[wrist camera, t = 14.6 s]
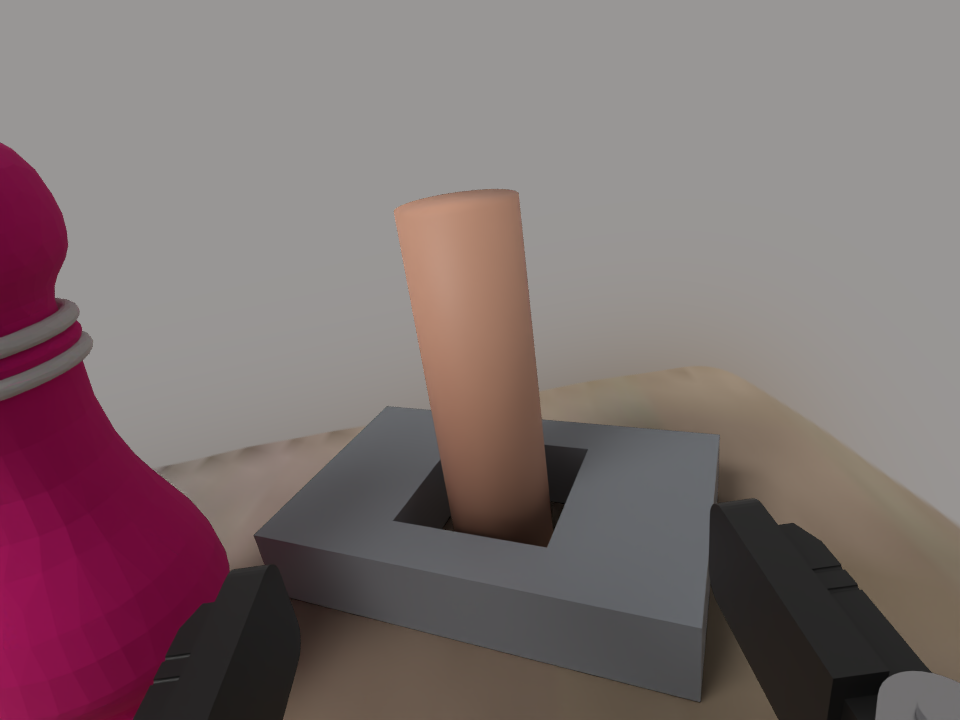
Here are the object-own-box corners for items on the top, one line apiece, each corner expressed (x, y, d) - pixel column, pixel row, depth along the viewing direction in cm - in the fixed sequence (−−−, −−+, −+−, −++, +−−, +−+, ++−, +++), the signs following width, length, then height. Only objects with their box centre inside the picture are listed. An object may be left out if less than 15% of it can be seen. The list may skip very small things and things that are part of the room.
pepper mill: (285, 600, 24) (78, 26, 15) (226, 796, 17) (-191, -28, 9) (103, 628, 24) (-201, 67, 15) (-27, 835, 17) (-680, 45, 9)
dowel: (441, 568, 24) (369, 219, 18) (479, 506, 27) (428, 193, 21) (537, 589, 22) (491, 212, 17) (565, 519, 26) (534, 185, 20)
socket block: (275, 594, 24) (253, 535, 23) (398, 454, 32) (387, 406, 31) (700, 701, 18) (701, 628, 16) (717, 494, 26) (719, 434, 25)
